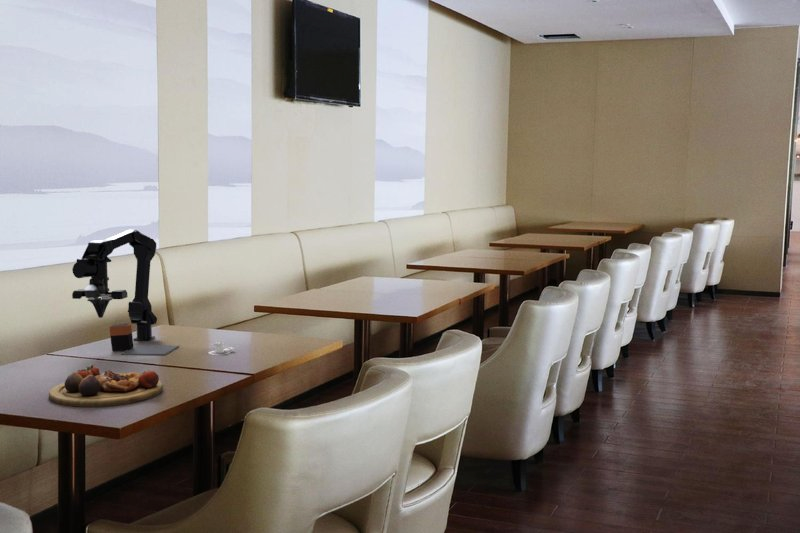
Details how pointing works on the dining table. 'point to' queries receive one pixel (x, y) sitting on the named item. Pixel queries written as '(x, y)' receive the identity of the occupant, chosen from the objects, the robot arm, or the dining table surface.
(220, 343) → the teacup and saucer
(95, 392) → the wooden plate with food
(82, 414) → the dining table surface
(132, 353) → the mat
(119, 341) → the battery
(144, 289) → the robot arm
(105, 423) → the dining table surface
